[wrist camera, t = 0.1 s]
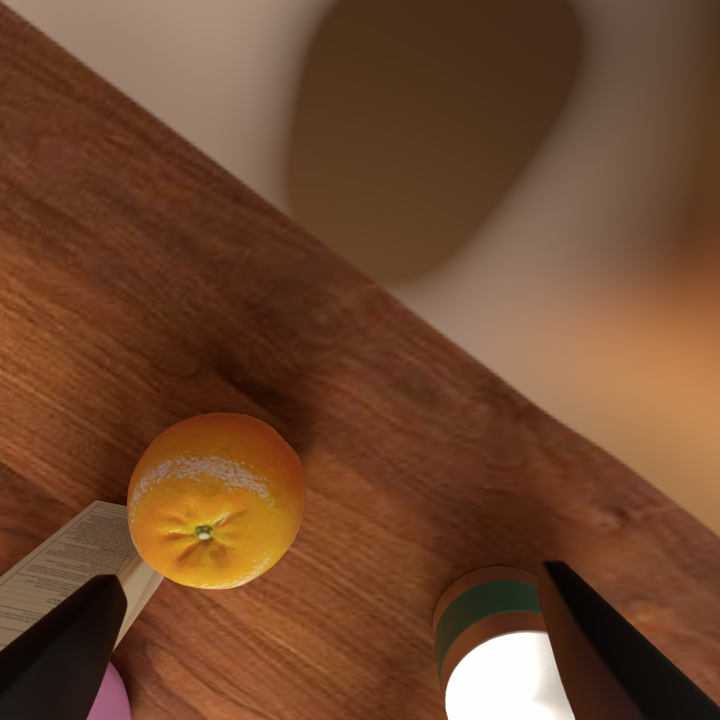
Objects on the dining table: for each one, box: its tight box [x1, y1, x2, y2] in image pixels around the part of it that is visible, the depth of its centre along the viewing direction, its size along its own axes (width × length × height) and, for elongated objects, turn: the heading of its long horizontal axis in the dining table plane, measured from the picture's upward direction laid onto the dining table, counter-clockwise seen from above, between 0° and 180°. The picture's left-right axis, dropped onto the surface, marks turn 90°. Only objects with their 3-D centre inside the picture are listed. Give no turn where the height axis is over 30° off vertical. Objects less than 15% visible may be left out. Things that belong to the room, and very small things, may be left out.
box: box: [0, 500, 164, 651], centre depth 21 cm, size 5×4×11 cm
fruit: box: [127, 412, 306, 589], centre depth 22 cm, size 8×8×8 cm
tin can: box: [432, 566, 575, 720], centre depth 24 cm, size 8×8×5 cm
